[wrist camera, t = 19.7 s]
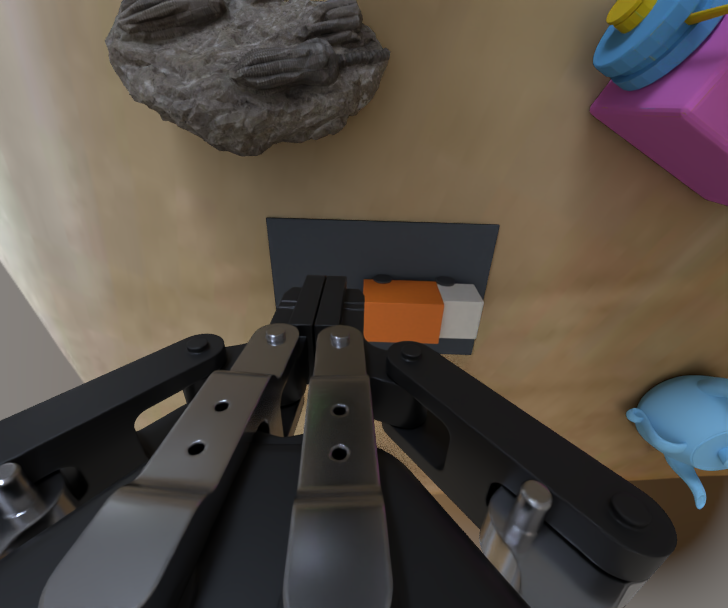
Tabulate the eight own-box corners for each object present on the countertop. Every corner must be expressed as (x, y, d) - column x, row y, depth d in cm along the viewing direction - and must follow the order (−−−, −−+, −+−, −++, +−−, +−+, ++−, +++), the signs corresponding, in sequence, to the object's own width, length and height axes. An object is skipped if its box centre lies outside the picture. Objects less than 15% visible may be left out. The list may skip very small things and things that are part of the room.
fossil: (403, -35, 26) (362, 147, 23) (393, 73, 35) (363, 210, 33) (118, -82, 27) (48, 89, 24) (183, 36, 36) (138, 167, 34)
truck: (361, 343, 39) (477, 346, 39) (362, 300, 36) (487, 304, 36) (362, 312, 45) (464, 315, 45) (364, 273, 42) (471, 276, 42)
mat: (281, 347, 48) (280, 348, 48) (266, 217, 39) (265, 218, 39) (470, 353, 48) (471, 355, 48) (498, 224, 39) (499, 225, 39)
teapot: (603, 401, 52) (650, 462, 43) (709, 342, 47) (789, 398, 38) (649, 447, 57) (700, 511, 48) (750, 398, 51) (830, 461, 42)
